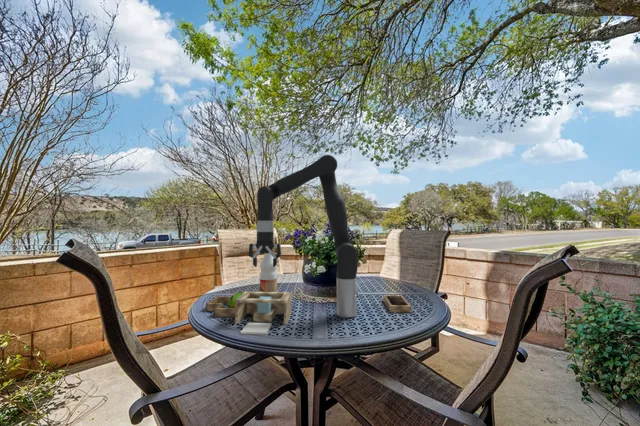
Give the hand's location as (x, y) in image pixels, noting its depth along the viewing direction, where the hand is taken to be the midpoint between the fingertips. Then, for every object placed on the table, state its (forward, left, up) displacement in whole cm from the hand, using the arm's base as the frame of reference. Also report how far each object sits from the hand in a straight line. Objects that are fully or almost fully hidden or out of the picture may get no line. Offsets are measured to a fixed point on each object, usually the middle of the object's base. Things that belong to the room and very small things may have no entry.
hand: (264, 266), depth 129 cm
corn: (+18, -15, -24) cm, 33 cm away
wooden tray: (-63, -21, -23) cm, 70 cm away
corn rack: (+17, -15, -23) cm, 32 cm away
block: (0, 0, -20) cm, 20 cm away
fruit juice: (+5, -28, -23) cm, 37 cm away
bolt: (-62, -21, -24) cm, 70 cm away
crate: (0, 0, -23) cm, 23 cm away
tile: (0, +13, -23) cm, 27 cm away
